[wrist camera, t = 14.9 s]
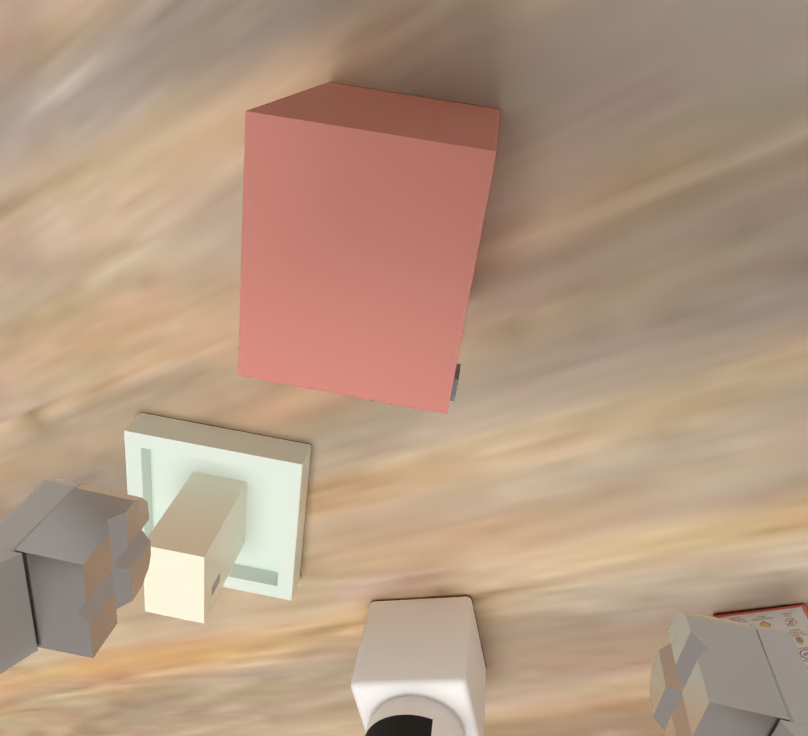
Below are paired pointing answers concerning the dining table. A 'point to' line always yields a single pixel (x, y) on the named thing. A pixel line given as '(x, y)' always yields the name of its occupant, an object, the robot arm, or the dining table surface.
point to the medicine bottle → (421, 669)
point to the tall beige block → (195, 547)
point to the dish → (235, 459)
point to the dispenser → (362, 241)
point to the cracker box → (779, 623)
